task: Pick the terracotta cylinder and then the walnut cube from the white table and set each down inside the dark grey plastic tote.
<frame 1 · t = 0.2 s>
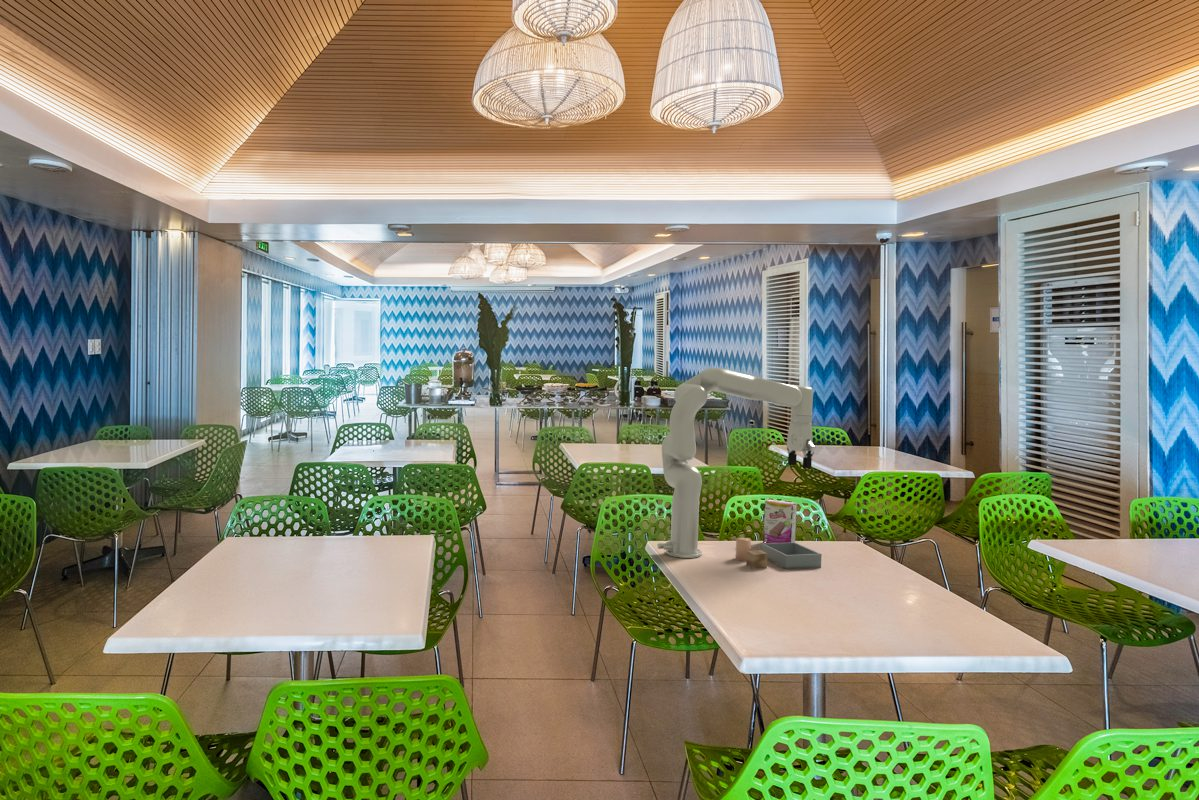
hand: (799, 466, 278), 31 cm above the table, fingers open, 9 cm apart
terracotta cylinder: (742, 559, 262), on the table
candy bar box: (778, 545, 286), on the table
walnut cube: (756, 566, 253), on the table
grey tote: (790, 561, 261), on the table
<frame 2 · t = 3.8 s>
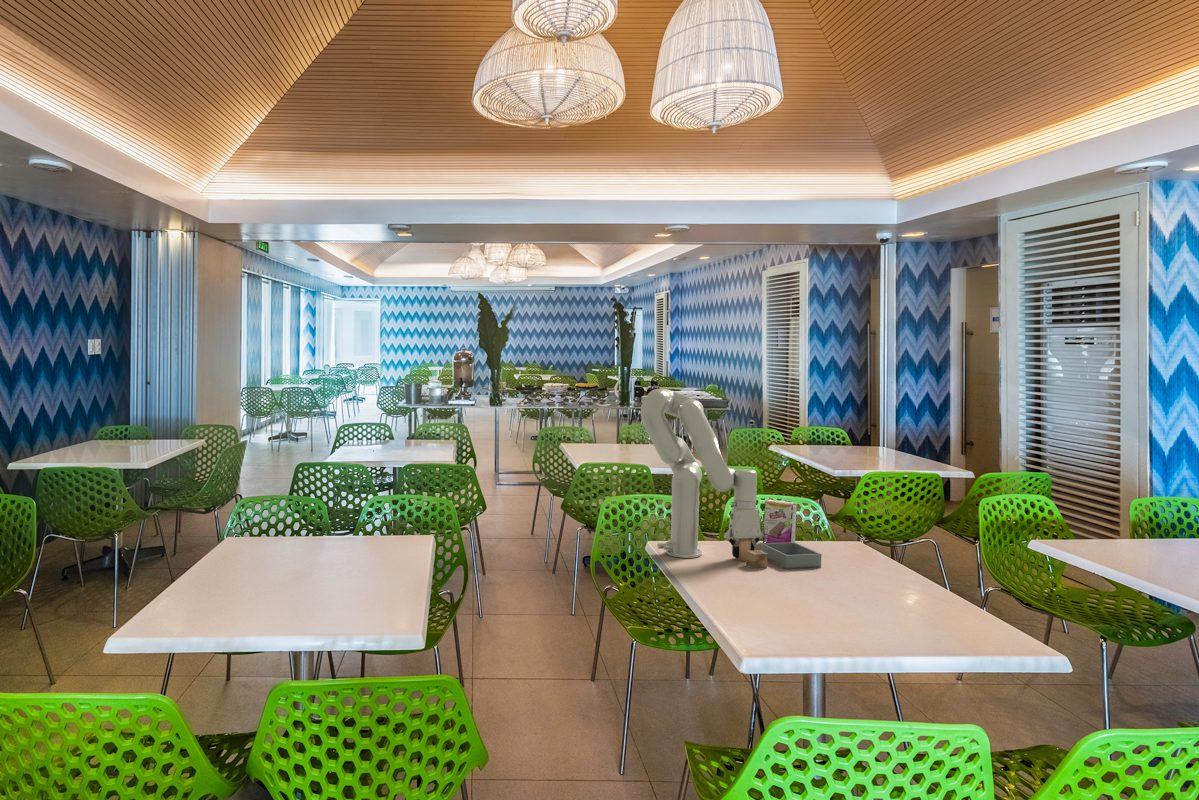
hand: (743, 556, 262), 1 cm above the table, fingers closed on terracotta cylinder, 5 cm apart
terracotta cylinder: (742, 559, 262), on the table, touching gripper
everything else where it was.
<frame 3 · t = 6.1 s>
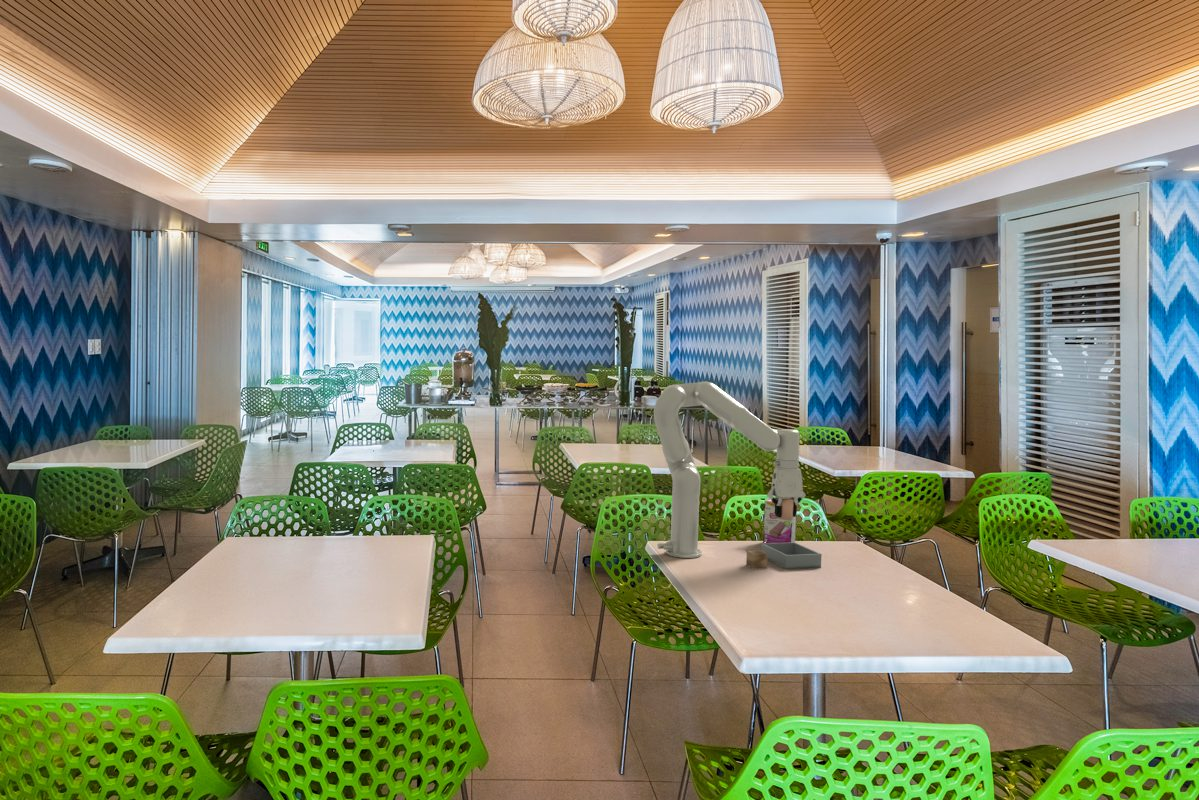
hand: (785, 515, 264), 15 cm above the table, fingers closed on terracotta cylinder, 5 cm apart
terracotta cylinder: (785, 518, 264), point 14 cm above the table, touching gripper
everything else where it was.
when the fingers open (4 cm above the table, at t = 8.3 s): terracotta cylinder drops 3 cm, resting on grey tote.
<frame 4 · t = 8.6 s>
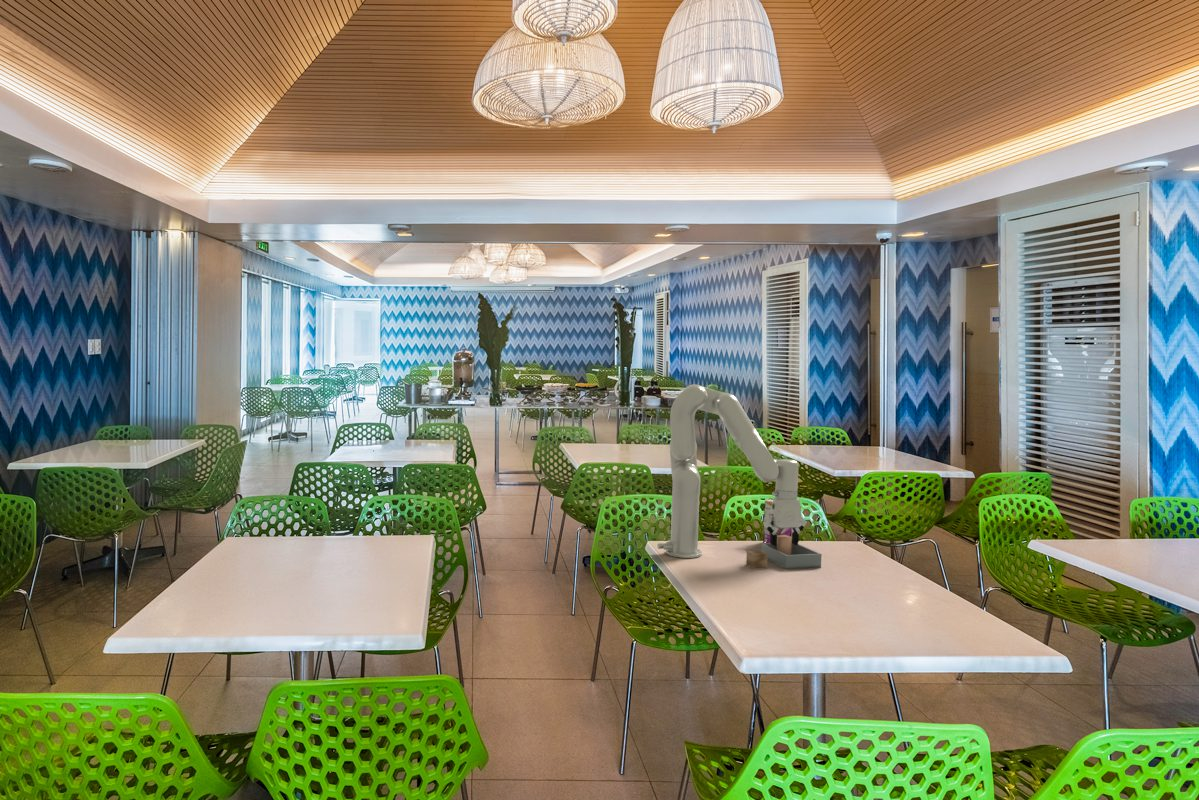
hand: (784, 544, 265), 5 cm above the table, fingers open, 7 cm apart
terracotta cylinder: (783, 556, 265), point 1 cm above the table, touching grey tote
everything else where it was.
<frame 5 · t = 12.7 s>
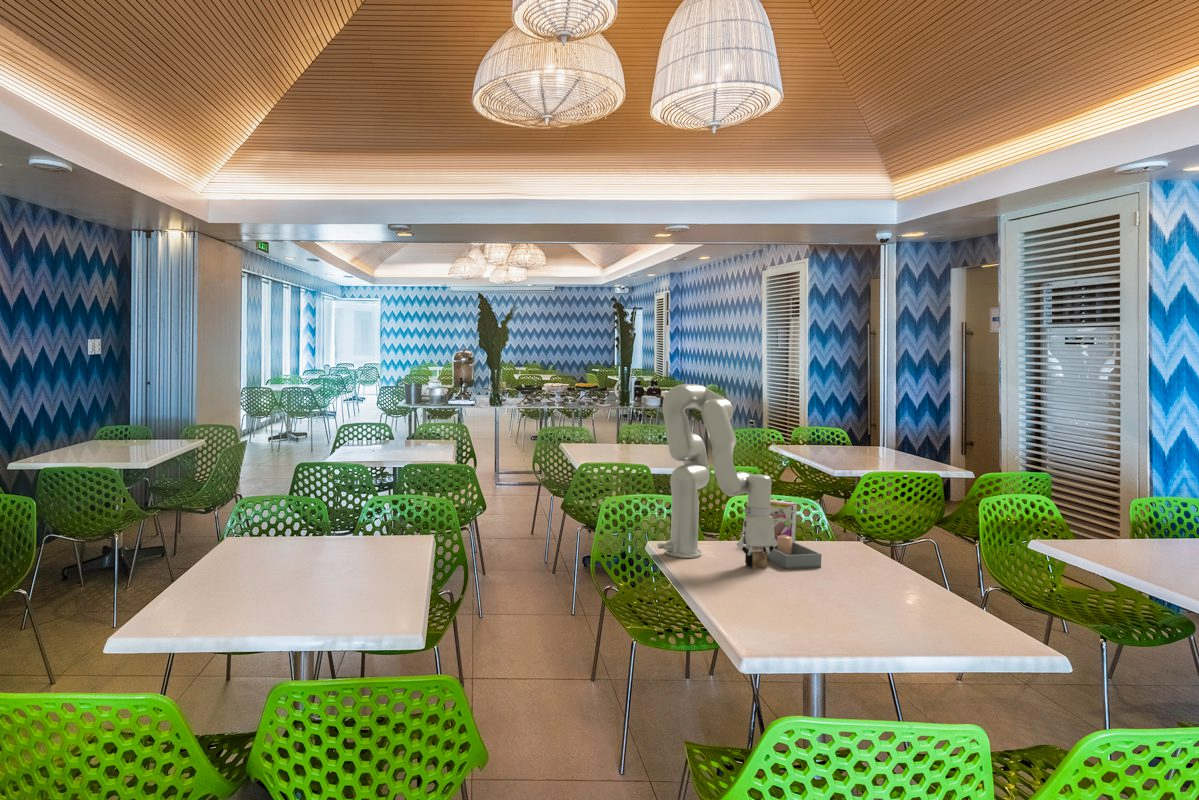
hand: (756, 565, 253), 0 cm above the table, fingers closed on walnut cube, 5 cm apart
walnut cube: (756, 566, 253), on the table, touching gripper
everything else where it was.
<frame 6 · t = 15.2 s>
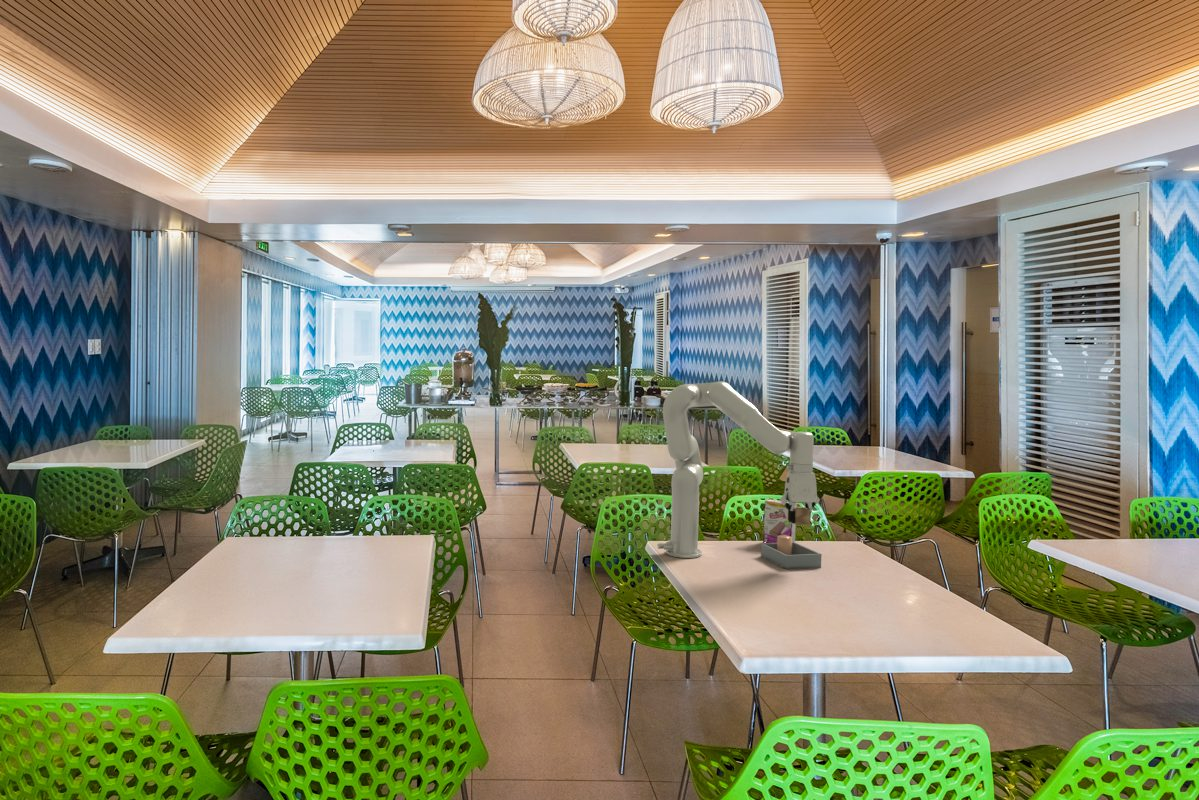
hand: (799, 521, 256), 15 cm above the table, fingers closed on walnut cube, 5 cm apart
walnut cube: (799, 522, 256), point 14 cm above the table, touching gripper
everything else where it was.
when the fingers open (4 cm above the table, at t = 17.5 s): walnut cube drops 3 cm, resting on grey tote.
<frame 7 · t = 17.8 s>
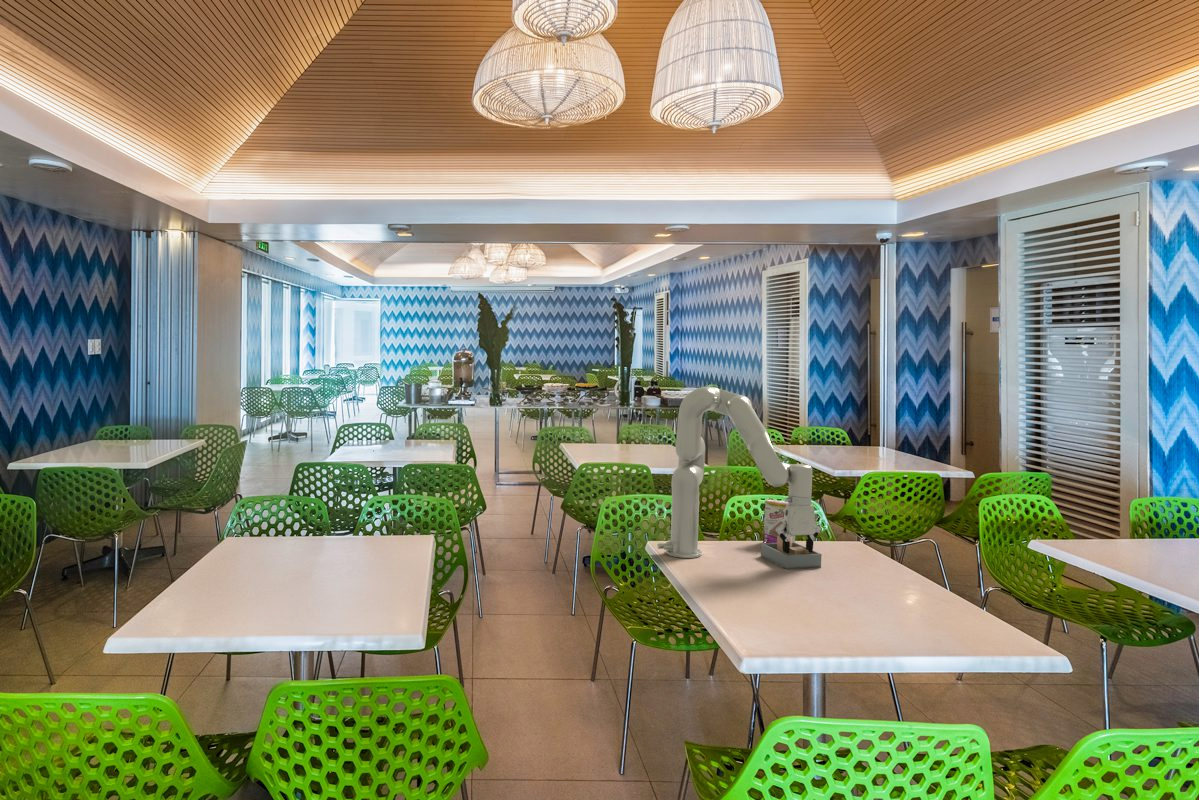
hand: (797, 551, 256), 5 cm above the table, fingers open, 8 cm apart
walnut cube: (797, 563, 256), point 1 cm above the table, touching grey tote
everything else where it was.
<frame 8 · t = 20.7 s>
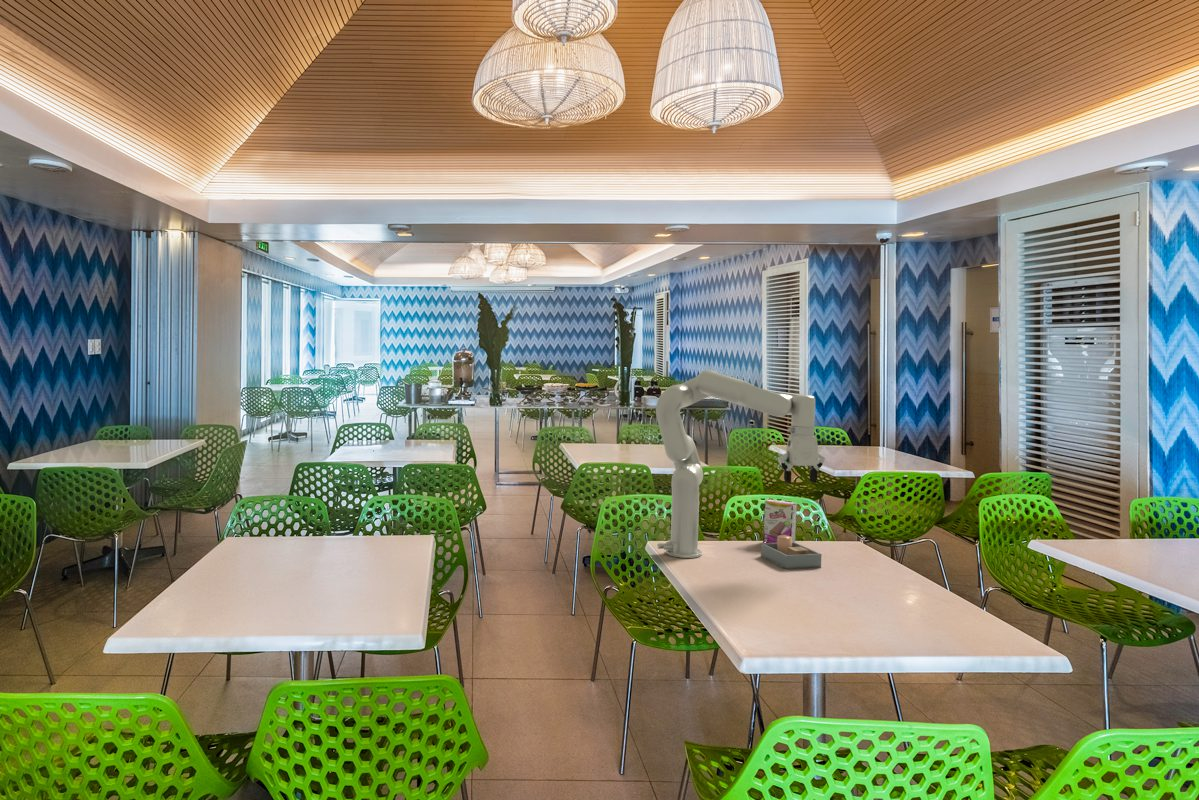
hand: (800, 482, 255), 28 cm above the table, fingers open, 9 cm apart
nothing on the table moved.
at the end: walnut cube inside the target area on the grey tote (4.5 cm from its centre), point 0.6 cm above the grey tote's base; terracotta cylinder inside the target area on the grey tote (4.6 cm from its centre), point 0.6 cm above the grey tote's base; the gripper is holding nothing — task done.
